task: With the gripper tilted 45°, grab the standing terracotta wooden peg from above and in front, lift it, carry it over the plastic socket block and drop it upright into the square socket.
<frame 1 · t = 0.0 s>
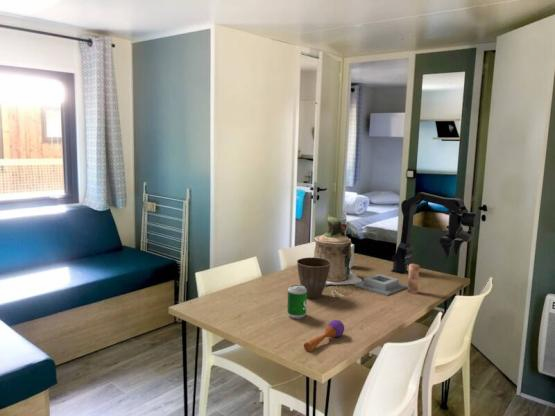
hand: (452, 255, 223), 15 cm above the table, tool pointing down, fingers open, 9 cm apart
plant pot: (312, 296, 205), on the table
peg: (412, 291, 213), on the table
soda can: (296, 316, 182), on the table
socket block: (380, 286, 219), on the table
supplement box: (345, 267, 253), on the table
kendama: (324, 342, 159), on the table
cookie jar: (331, 278, 232), on the table
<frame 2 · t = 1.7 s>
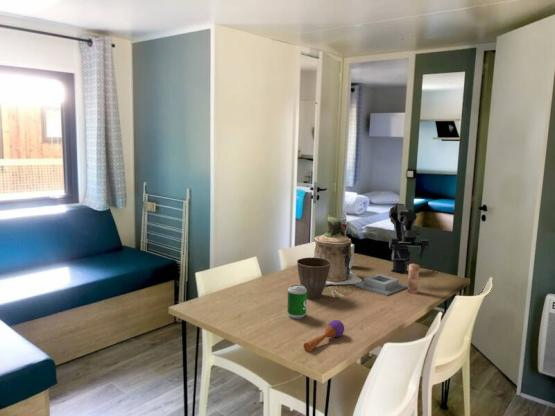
hand: (410, 259, 219), 14 cm above the table, tool tilted 45°, fingers open, 9 cm apart
nothing on the table moved.
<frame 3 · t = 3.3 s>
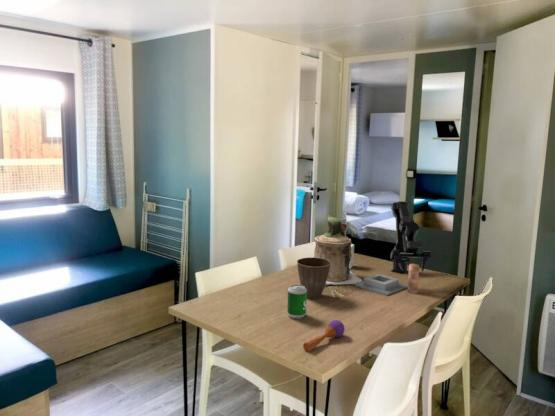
hand: (412, 271, 214), 9 cm above the table, tool tilted 45°, fingers open, 9 cm apart
nothing on the table moved.
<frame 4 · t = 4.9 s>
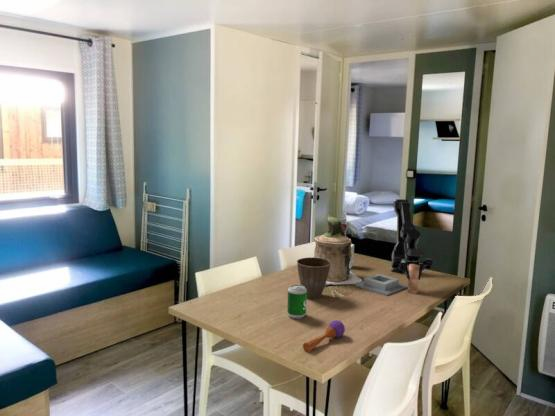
hand: (414, 279, 211), 7 cm above the table, tool tilted 45°, fingers closed on peg, 4 cm apart
peg: (412, 291, 213), on the table, touching gripper
everything else where it was.
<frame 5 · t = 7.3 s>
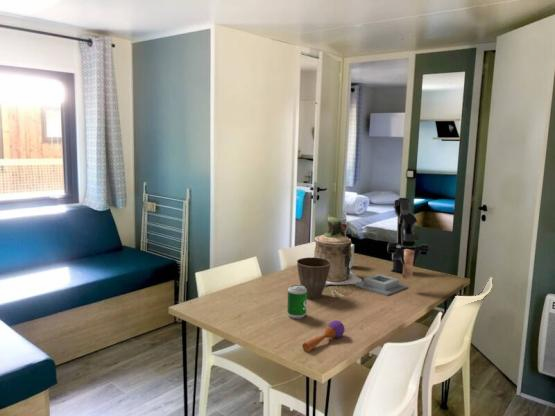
hand: (408, 264, 210), 13 cm above the table, tool tilted 45°, fingers closed on peg, 4 cm apart
peg: (407, 277, 213), point 7 cm above the table, touching gripper
everything else where it was.
when the fingers open (8 cm above the table, at t = 9.8 s): peg stays where it is, resting on socket block.
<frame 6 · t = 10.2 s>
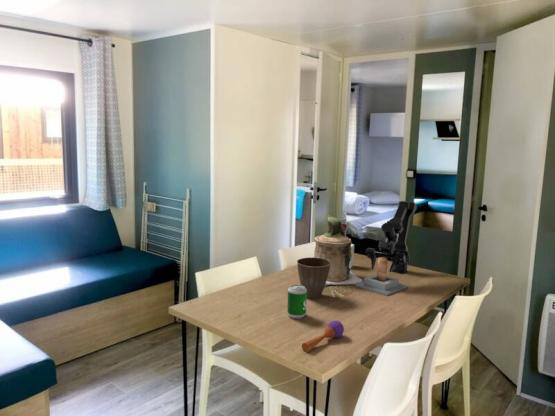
hand: (381, 270, 217), 9 cm above the table, tool tilted 45°, fingers open, 8 cm apart
peg: (381, 284, 219), point 1 cm above the table, touching socket block
everything else where it was.
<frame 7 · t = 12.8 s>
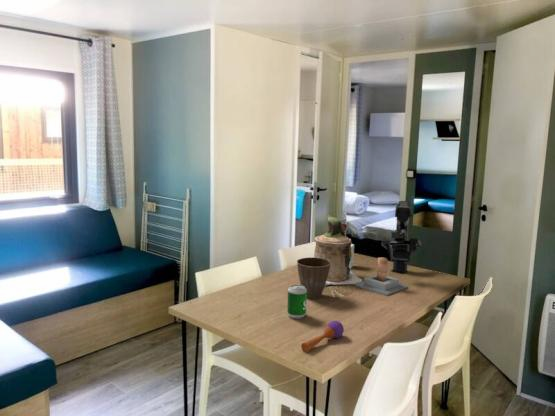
hand: (400, 259, 223), 12 cm above the table, tool tilted 30°, fingers open, 9 cm apart
nothing on the table moved.
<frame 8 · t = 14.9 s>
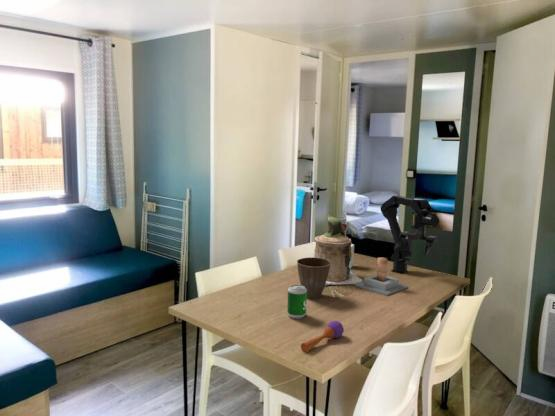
hand: (417, 253, 232), 13 cm above the table, tool pointing down, fingers open, 9 cm apart
nothing on the table moved.
at the end: peg 0.0 cm off-centre on the socket block, point 1.0 cm above the socket block's base; peg tilted 0°; the gripper is holding nothing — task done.
